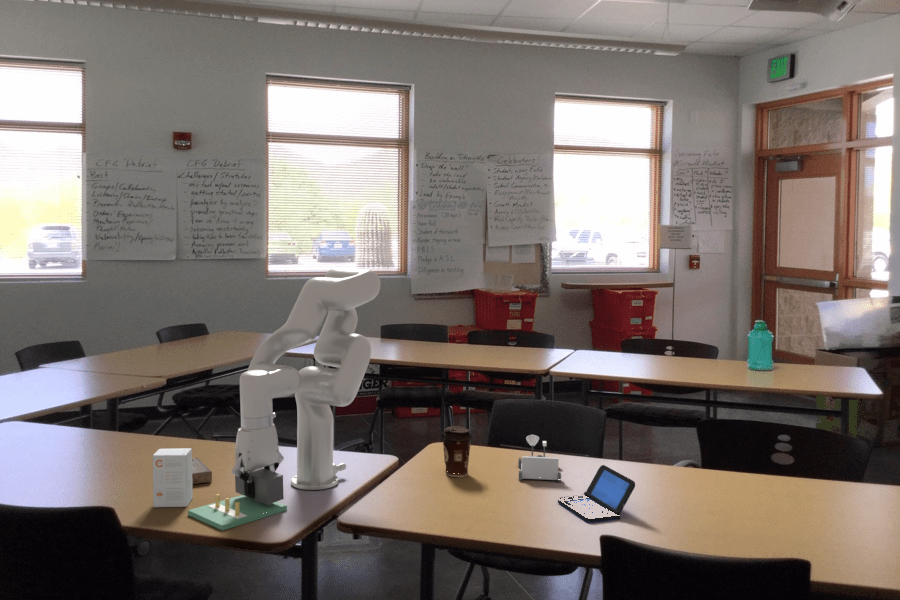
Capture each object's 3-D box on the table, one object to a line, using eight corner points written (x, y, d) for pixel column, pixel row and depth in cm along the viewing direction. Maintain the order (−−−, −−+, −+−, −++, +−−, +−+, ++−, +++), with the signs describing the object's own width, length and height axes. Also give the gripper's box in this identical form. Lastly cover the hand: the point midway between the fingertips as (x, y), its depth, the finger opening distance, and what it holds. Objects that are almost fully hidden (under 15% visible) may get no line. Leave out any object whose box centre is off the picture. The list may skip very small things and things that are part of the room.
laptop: (555, 503, 198) (556, 467, 197) (600, 498, 203) (602, 463, 202) (587, 525, 184) (589, 486, 183) (635, 518, 188) (637, 481, 188)
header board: (252, 496, 197) (252, 480, 196) (286, 510, 188) (286, 493, 187) (188, 515, 183) (188, 497, 183) (222, 530, 174) (222, 512, 174)
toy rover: (519, 431, 232) (558, 433, 231) (518, 464, 232) (557, 465, 232) (519, 448, 214) (562, 449, 213) (518, 482, 215) (560, 484, 214)
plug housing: (251, 486, 196) (251, 463, 195) (283, 499, 188) (282, 475, 187) (235, 492, 192) (234, 468, 192) (267, 504, 184) (266, 480, 183)
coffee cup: (437, 476, 217) (438, 431, 216) (444, 468, 225) (445, 424, 224) (467, 479, 215) (468, 433, 214) (474, 471, 223) (475, 426, 222)
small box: (193, 498, 194) (192, 447, 193) (186, 507, 188) (186, 454, 187) (159, 498, 194) (159, 447, 193) (152, 507, 187) (151, 455, 186)
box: (171, 487, 201) (171, 475, 201) (158, 471, 216) (159, 460, 216) (213, 483, 207) (213, 471, 207) (198, 467, 222) (198, 456, 222)
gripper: (275, 411, 197) (277, 480, 199) (217, 426, 184) (220, 500, 186) (294, 416, 192) (296, 487, 194) (236, 432, 179) (238, 507, 181)
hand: (259, 493), depth 190 cm, fingers closed on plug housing, 4 cm apart
